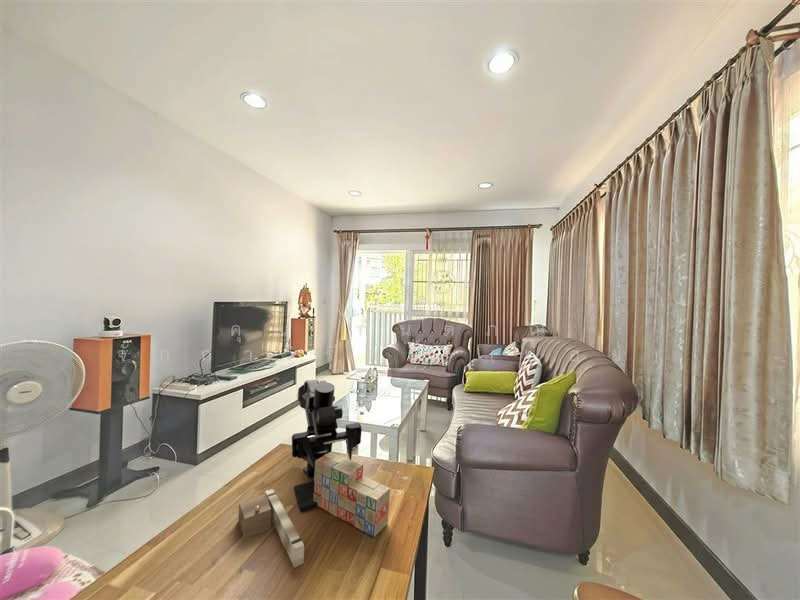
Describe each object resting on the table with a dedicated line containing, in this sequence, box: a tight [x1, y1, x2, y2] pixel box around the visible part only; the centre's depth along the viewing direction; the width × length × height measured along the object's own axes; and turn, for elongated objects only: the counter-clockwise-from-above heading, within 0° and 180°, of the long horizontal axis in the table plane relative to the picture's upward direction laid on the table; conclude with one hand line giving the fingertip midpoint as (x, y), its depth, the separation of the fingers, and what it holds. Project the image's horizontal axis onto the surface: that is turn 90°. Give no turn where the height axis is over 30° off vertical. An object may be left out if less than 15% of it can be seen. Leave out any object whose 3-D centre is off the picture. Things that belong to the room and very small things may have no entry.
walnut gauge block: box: [238, 493, 272, 540], centre depth 79 cm, size 7×6×6 cm
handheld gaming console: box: [293, 478, 319, 512], centre depth 91 cm, size 12×7×10 cm
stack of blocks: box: [313, 451, 391, 538], centre depth 84 cm, size 21×6×12 cm, turn 58°
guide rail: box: [264, 488, 305, 568], centre depth 77 cm, size 24×2×4 cm, turn 37°
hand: (332, 462), depth 80 cm, fingers open, 9 cm apart
